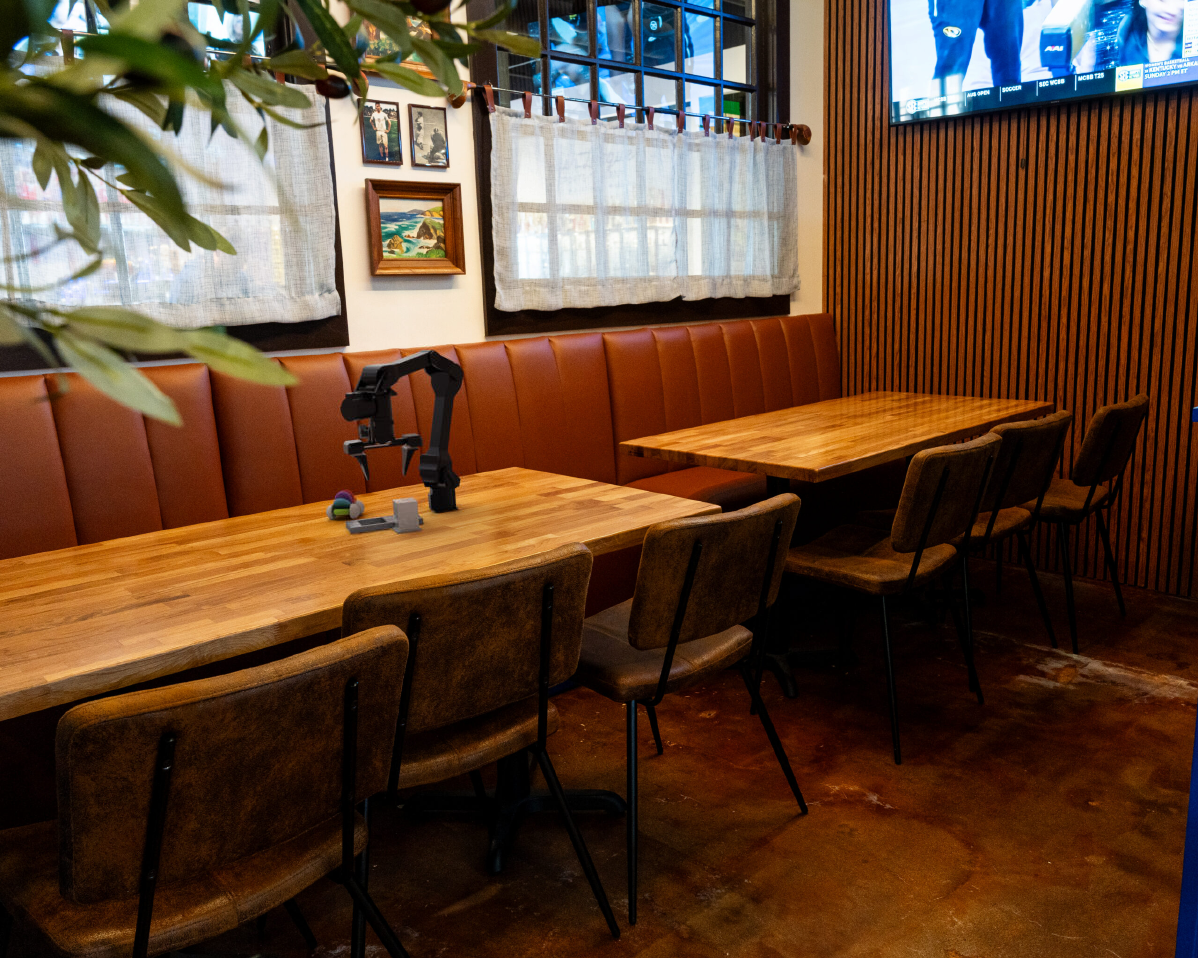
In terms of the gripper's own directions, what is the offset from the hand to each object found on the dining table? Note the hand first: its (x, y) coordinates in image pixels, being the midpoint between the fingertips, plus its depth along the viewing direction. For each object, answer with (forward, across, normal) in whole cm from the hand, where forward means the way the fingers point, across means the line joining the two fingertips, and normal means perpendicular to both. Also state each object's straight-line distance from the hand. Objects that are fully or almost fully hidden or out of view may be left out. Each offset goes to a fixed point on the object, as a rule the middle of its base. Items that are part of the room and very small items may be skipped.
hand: (386, 477), depth 246 cm
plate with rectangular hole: (+12, +1, -1) cm, 13 cm away
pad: (+12, -2, +6) cm, 14 cm away
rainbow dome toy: (+13, +7, -18) cm, 23 cm away
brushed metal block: (+12, -2, +6) cm, 14 cm away
